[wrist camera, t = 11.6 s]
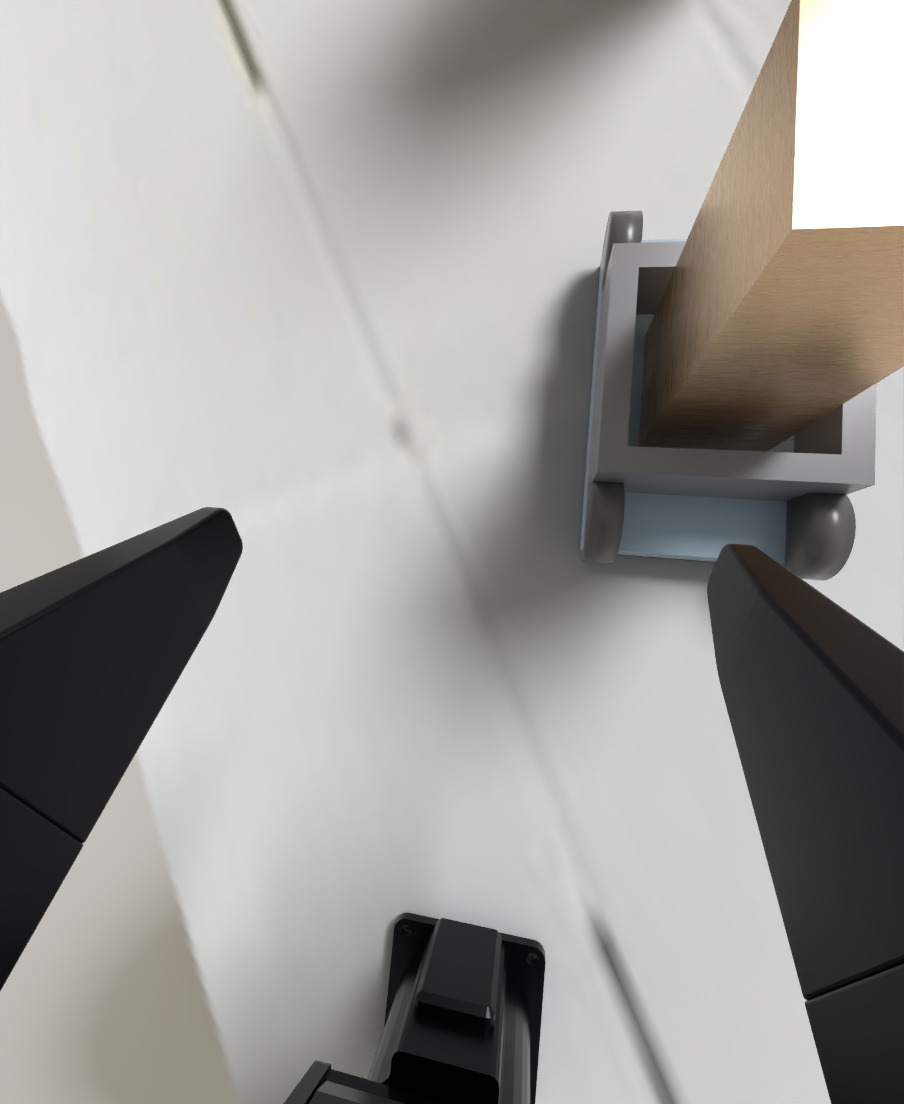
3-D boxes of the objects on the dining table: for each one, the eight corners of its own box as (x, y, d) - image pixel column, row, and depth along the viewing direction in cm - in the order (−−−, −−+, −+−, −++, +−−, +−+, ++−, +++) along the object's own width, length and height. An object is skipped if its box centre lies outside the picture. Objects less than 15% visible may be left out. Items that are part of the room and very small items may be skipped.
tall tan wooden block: (766, 452, 19) (1140, 217, 7) (638, 447, 20) (792, 228, 8) (770, 336, 20) (1130, -60, 8) (645, 336, 21) (800, -22, 9)
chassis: (796, 582, 20) (873, 576, 15) (578, 564, 21) (591, 554, 17) (807, 247, 21) (879, 154, 17) (601, 253, 23) (618, 169, 18)
